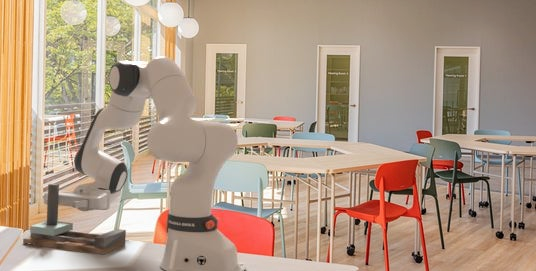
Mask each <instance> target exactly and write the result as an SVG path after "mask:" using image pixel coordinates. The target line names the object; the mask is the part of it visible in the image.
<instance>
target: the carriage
mask: <svg viewBox="0 0 536 271" xmlns="http://www.w3.org/2000/svg"><path fill="white" fill-rule="evenodd" d="M47 185H48V186H47V192H48V203H47V206H46V208H47V209H46V210H47V211H46V221H43V222H40V223H39V222H38V223H36V224H32V225H30V227H29V228H30V229H29V234H31V233H36V234H43V235H51V236H55V235H58V234H61V233H64V232H67V231H72V230H73V228H74V227H73V226H74V225H73V224H74V223H73V222H65V221H60V220H59V219H58V218H59V217H58V216H59V205H58V199H59V191H60V184H59V183H48V184H47ZM58 220H59V221H58Z"/></svg>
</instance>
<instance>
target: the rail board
mask: <svg viewBox="0 0 536 271" xmlns="http://www.w3.org/2000/svg"><path fill="white" fill-rule="evenodd" d="M126 231H127V230H126V229H120V228H116V229H113V230H111V231H108V232H105V233H102V234H97V233H87V232H78V231H72V230H70V231H67V232H64V233H61V234H58V235H55V236H51V235H43V234H36V233H30V236H27V237H24V238H23V241H22V243H30V244H35V245H34V246H36V245H39V246H38V247H45V248H53V249H60V250H67V251H68V250H69V251H75V252H80V253H81V252H83V253H89V254H96V255H105V254H108V253H110V252H112V251H115V250H117V249H119V248H121V247H124V246H125V245H126V235H127V234H126Z"/></svg>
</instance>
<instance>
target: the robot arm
mask: <svg viewBox="0 0 536 271" xmlns="http://www.w3.org/2000/svg"><path fill="white" fill-rule="evenodd" d="M108 76H109V77H108V82H109V83H108V84H109V88H110V89H111V92H110V93H111V94H110V96H109V99H108V100H109V101H108V104H107V105H106V107H101V108H100V109H98V111H97V112H96V113H95V115H94V116H93V119H92V121H91V124H90V125H89V128H88V130H87V132H86V134H85V137H84V139H83V141H82V143H81V146H80V147H79V149H78V151H77V152H76V154H75V156H74V159H73V164H74V168H75V170H76V171H77V172H78V173H80V174H82V175H85V176H88V177H89V178H91V179H93V180H94V181H93V182H87V183H84V184H80V185H77V186H76V187H75V188H74V189H73V191H69V190H68V191H67V190H59V199H58V206H62V207H72V208H75V209H77V210H79V211H80V212H81V211H82V212H89V211H96V210H97V211H98V210H99V211H100V210H101V211H108V210H110V206H111V204H113V203H114V202H116V201H117V200H118V199H119V197H120V196H121V193H122V188H123V187H124V186H125V184H126V182H127V179H128V168H127V164H126V162H124V161H122V160H120V159H118V158H116V157H114V156H112V155H111V154H108V153H106V152H105V151H103V150H101V148H100V146H99V145H100V143H101V141H102V138H103V136H104V133H105V132H106V130H109V129H110V130H116V131H117V130H119V131H121V130H122V131H123V130H129V129H131V128H134V127H135V126H136V125H138V123H139V122H140V121H141V119H142V116H143V112H144V109H145V104H146V100H152V102H153V104H154V106H155V109H156V112H157V115H158V118H157V121H156V122H155V123H154V124H153V125H152V126H151V127H150V129H149V131H148V133H147V137H146V146H147V149H148V151H149V153H150V155H151V156H152V157H153V158H154V159H156V160H158V161H162V162H163V161H165V162H169V163H188V165H187V168H186V170H185V171H184V172H183V173H182V174H181V175H180V176H178V177H177V178H175V179H174V180H173V182H172V183H171V186H170V192H169V195H170V196H169V208H168V209H169V210H168V211H169V212H167V216H166V217H167V218H166V243H165V247H164V252H163V256H162V259H161V262H160V265H159V266H160V268H161V269H162V270H164V271H244V269H245V270H246V263H244V262H243V261H239V258H238V250H237V247H236V245H235V244H234V243H233V242H232V241H231V240H230V239H229V238H228V237H227V236H225V234H223V233H222V232H221V231H220V230H218V224H219V222H220V217H217V218H216V217H215V216H214V215H213V214H212V205H213V194H214V187H215V184H216V181H217V178H218V175H219V173H220V171H221V169H222V168H223V166H224V165H225V163H227V161H228V160H229V159H230V158H232V157H233V156H234V155H235V154H236V152H237V149H238V142H239V141H238V140H239V139H238V135H237V132H236V130H235V129H234V127H233V126H232V125H229V124H226V123H223V122H219V121H216V120H215V121H213V120H212V121H210V120H197V119H193V118H191V117H193V115H194V114H195V112H196V110H197V103H198V102H197V101H198V100H197V97H196V96H195V93H194V91H193V90H192V88H191V85H190V83H189V81H188V79H187V78H186V76H185V75H184V72H183V71H182V69H181V68H180V67H179V65H178V64H177V63H176V62H175V61H174V60H173V59H172V58H170V57H168V56H164V55H162V56H156V57H153V58H152V59H151V60H149V61H143V60H142V61H138V60H137V61H130V60H122V61H121V60H120V61H116V62H115V63H114V64H113V65H112V66H111V68H110V71H109V73H108ZM43 203H44V204H45V205H47V203H48V191H46V192H44V194H43Z"/></svg>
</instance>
